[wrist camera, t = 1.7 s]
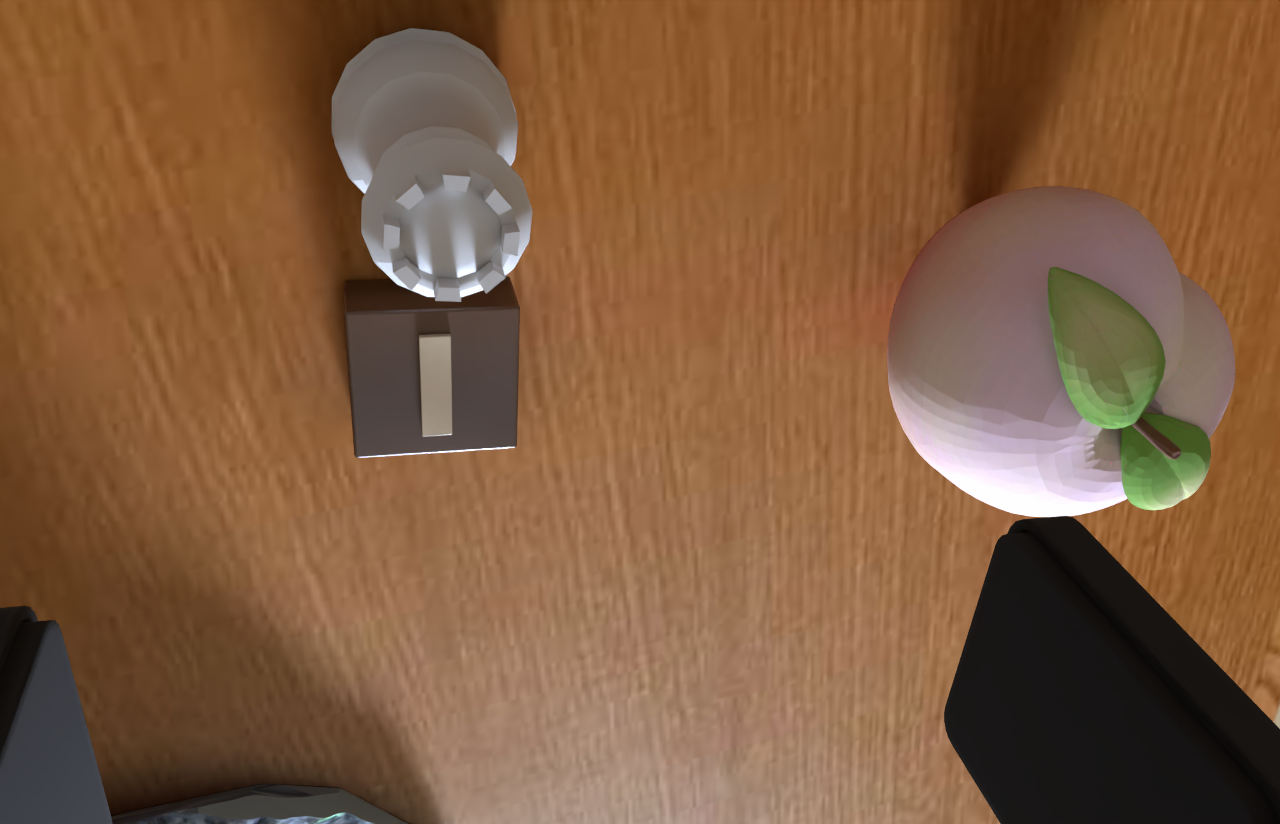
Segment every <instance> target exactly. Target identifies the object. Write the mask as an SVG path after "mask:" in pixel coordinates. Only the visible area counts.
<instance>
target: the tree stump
mask: <svg viewBox="0 0 1280 824" xmlns="http://www.w3.org/2000/svg"><path fill="white" fill-rule="evenodd" d="M111 818H112V824H407V823H405V822H403V821H402V820H400V819H398V818H396V817H394V816H392V815H390V814H388V813H387V812H385V811H383V810H381V809H379V808H377V807H375V806H373V805H371V804H370V803H368V802H366V801H364V800H362V799H360V798H358V797H356V796H355V795H353V794H351V793H349V792H347V791H345V790H343V789H341V788H327V787H310V786H293V785H274V784H260V785H254V786H249V787H244V788H240V789H235V790H230V791H225V792H221V793H216V794H211V795H207V796H202V797H197V798H192V799H188V800H183V801H178V802H173V803H169V804H164V805H159V806H155V807H150V808H145V809H140V810H136V811H131V812H126V813H121V814H117V815H115V816H112V817H111Z"/></svg>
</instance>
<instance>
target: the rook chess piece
mask: <svg viewBox="0 0 1280 824" xmlns="http://www.w3.org/2000/svg"><path fill="white" fill-rule="evenodd" d="M517 132H518V121H517V118H516V111H515V108H514V104H513V101H512V98H511V95H510V92H509V88H508V85H507V82H506V79H505V78H504V76H503V75H502V74H501V73H500V71H499V70H498V69H497V68H496V67H495V65H494V64H493V63H492V62H491V61H490V59H489V58H488V57H487V56H486V54H485V53H484V52H483V51H482V50H481V49H479V48H477V47H475V46H473V45H472V44H470V43H468V42H466V41H464V40H462V39H461V38H459V37H457V36H455V35H453V34H451V33H449V32H443V31H434V30H424V29H415V28H409V29H406V30H403V31H400V32H396V33H393V34H390V35H387V36H383V37H380V38H377V39H374V40H373V41H372V42H371V43H370V44H369V45H368V46H366V47H365V48H364V49H363V50H362V51H361V52H360V53H358V54H357V55H356V56H355V57H354V58H353V59H352V60H350V61H349V62H348V63H347V65H346V67H345V69H344V71H343V73H342V76H341V78H340V80H339V82H338V84H337V87H336V89H335V91H334V93H333V96H332V136H333V138H334V144H335V147H336V149H337V152H338V154H339V156H340V159H341V161H342V163H343V166H344V168H345V171H346V173H347V175H348V178H349V179H350V180H351V181H352V182H353V183H354V184H355V185H356V186H357V187H358V188H359V189H360V190H361V191H362V192H363V193H364V194H365V195H364V197H363V199H362V219H361V233H362V235H363V238H364V240H365V242H366V245H367V247H368V250H369V252H370V254H371V257H372V259H373V261H374V263H375V264H376V265H377V266H378V267H380V268H381V269H382V270H383V271H384V272H385V273H386V274H387V275H388V276H389V277H390V278H391V279H392V280H393V281H394V282H395V283H396V284H397V285H400V286H402V287H404V288H407V289H409V290H411V291H414V292H416V293H419V294H421V295H424V296H426V297H435V301H452V302H461V297H464V296H467V295H470V294H473V293H477V292H480V291H483V290H484V291H485V293H488V292H489V291H490V290H491V289H493V288H494V287H495V286H496V285H497V284H499V283H500V282H501V281H502V280H504V279H505V278H506V277H505V275H507V274H508V273H509V272H510V271H512V270H513V269H514V268H515V266H516V264H517V262H518V261H519V259H520V257H521V255H522V253H523V252H524V250H525V248H526V246H527V244H528V243H529V238H530V229H531V219H532V208H531V205H530V202H529V198H528V195H527V192H526V189H525V186H524V183H523V180H522V179H521V178H520V177H519V176H518V174H517V173H516V172H515V171H514V170H513V169H512V167H511V165H512V163H513V161H514V159H515V154H516V143H517Z"/></svg>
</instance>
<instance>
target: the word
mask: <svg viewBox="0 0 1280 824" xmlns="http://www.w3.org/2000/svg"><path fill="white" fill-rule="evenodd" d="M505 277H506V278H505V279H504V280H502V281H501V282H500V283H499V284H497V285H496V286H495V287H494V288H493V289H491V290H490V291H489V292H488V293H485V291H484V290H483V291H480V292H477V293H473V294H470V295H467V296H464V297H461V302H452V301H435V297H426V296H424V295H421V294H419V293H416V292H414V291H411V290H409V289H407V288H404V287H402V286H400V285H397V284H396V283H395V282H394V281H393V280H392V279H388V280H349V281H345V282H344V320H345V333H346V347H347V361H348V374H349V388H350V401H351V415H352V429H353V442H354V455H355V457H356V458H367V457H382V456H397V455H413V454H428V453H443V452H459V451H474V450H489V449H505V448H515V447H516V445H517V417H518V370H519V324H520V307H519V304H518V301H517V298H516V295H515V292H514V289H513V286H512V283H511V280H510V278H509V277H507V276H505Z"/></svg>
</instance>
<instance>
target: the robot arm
mask: <svg viewBox="0 0 1280 824" xmlns="http://www.w3.org/2000/svg"><path fill="white" fill-rule="evenodd" d="M944 722H945V728H946V732H947V735H948V738H949V740H950V742H951V744H952V745H953V747H954V749H955V750H956V752H957V754H958V755H959V757H960V758H961V760H962V762H963V763H964V765H965V767H966V768H967V770H968V771H969V773H970V775H971V776H972V778H973V780H974V781H975V783H976V784H977V786H978V788H979V789H980V791H981V792H982V794H983V796H984V797H985V799H986V801H987V802H988V804H989V805H990V807H991V809H992V810H993V812H994V814H995V815H996V817H997V818H998V820H999V822H1000V823H1001V824H1280V729H1279V728H1278V727H1277V726H1276V725H1275V724H1274V723H1273V722H1272V720H1271V719H1270V718H1269V717H1268V716H1267V715H1266V714H1265V713H1264V712H1263V711H1262V710H1261V709H1260V708H1259V707H1258V706H1257V705H1256V704H1255V703H1254V702H1253V701H1252V700H1251V699H1250V698H1249V697H1248V696H1247V695H1246V694H1245V693H1244V692H1243V691H1242V689H1241V688H1240V687H1239V686H1238V685H1237V684H1236V683H1235V682H1234V681H1233V680H1232V679H1231V678H1230V677H1229V676H1228V675H1227V674H1226V673H1225V672H1224V671H1223V670H1222V669H1221V668H1220V667H1219V666H1218V665H1217V664H1216V663H1215V662H1214V661H1213V660H1212V658H1211V657H1210V656H1209V655H1208V654H1207V653H1206V652H1205V651H1204V650H1203V649H1202V648H1201V647H1200V646H1199V645H1198V644H1197V643H1196V642H1195V641H1194V640H1193V639H1192V638H1191V637H1190V636H1189V635H1188V634H1187V633H1186V632H1185V631H1184V630H1183V629H1182V627H1181V626H1180V625H1179V624H1178V623H1177V622H1176V621H1175V620H1174V619H1173V618H1172V617H1171V616H1170V615H1169V614H1168V613H1167V612H1166V611H1165V610H1164V609H1163V608H1162V607H1161V606H1160V605H1159V604H1158V603H1157V602H1156V601H1155V600H1154V599H1153V598H1152V596H1151V595H1150V594H1149V593H1148V592H1147V591H1146V590H1145V589H1144V588H1143V587H1142V586H1141V585H1140V584H1139V583H1138V582H1137V581H1136V580H1135V579H1134V578H1133V577H1132V576H1131V575H1130V574H1129V573H1128V572H1127V571H1126V570H1125V569H1124V568H1123V567H1122V566H1121V564H1120V563H1119V562H1118V561H1117V560H1116V559H1115V558H1114V557H1113V556H1112V555H1111V554H1110V553H1109V552H1108V551H1107V550H1106V549H1105V548H1104V547H1103V546H1102V545H1101V544H1100V543H1099V542H1098V541H1097V540H1096V539H1095V538H1094V537H1093V536H1092V535H1091V533H1090V532H1089V531H1088V530H1087V529H1086V528H1085V527H1084V526H1083V525H1082V524H1081V523H1080V522H1078V521H1077V520H1076V519H1074V518H1073V517H1069V516H1057V517H1045V518H1033V519H1023V520H1019V521H1016V522H1015V523H1014V524H1013V525H1012V526H1011V527H1010V529H1009V531H1008V534H1006V535H1002V536H1001V537H1000V538H999V539H998V541H997V543H996V546H995V549H994V552H993V555H992V558H991V562H990V565H989V568H988V571H987V574H986V578H985V581H984V584H983V587H982V591H981V594H980V597H979V600H978V603H977V607H976V610H975V613H974V616H973V619H972V623H971V626H970V629H969V632H968V636H967V639H966V642H965V645H964V648H963V652H962V655H961V658H960V661H959V664H958V668H957V671H956V674H955V677H954V681H953V684H952V687H951V690H950V693H949V697H948V700H947V703H946V706H945V712H944ZM0 824H112V818H111V814H110V810H109V807H108V803H107V799H106V795H105V792H104V788H103V784H102V781H101V777H100V773H99V769H98V766H97V762H96V758H95V755H94V751H93V747H92V743H91V740H90V736H89V732H88V729H87V725H86V721H85V717H84V714H83V710H82V706H81V703H80V699H79V695H78V691H77V688H76V684H75V680H74V677H73V673H72V669H71V665H70V662H69V658H68V654H67V651H66V647H65V643H64V639H63V636H62V632H61V629H60V627H59V624H58V623H57V622H56V621H54V620H48V621H38V620H37V617H36V615H35V612H34V611H33V610H32V609H31V607H28V606H19V607H7V608H0Z"/></svg>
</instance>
